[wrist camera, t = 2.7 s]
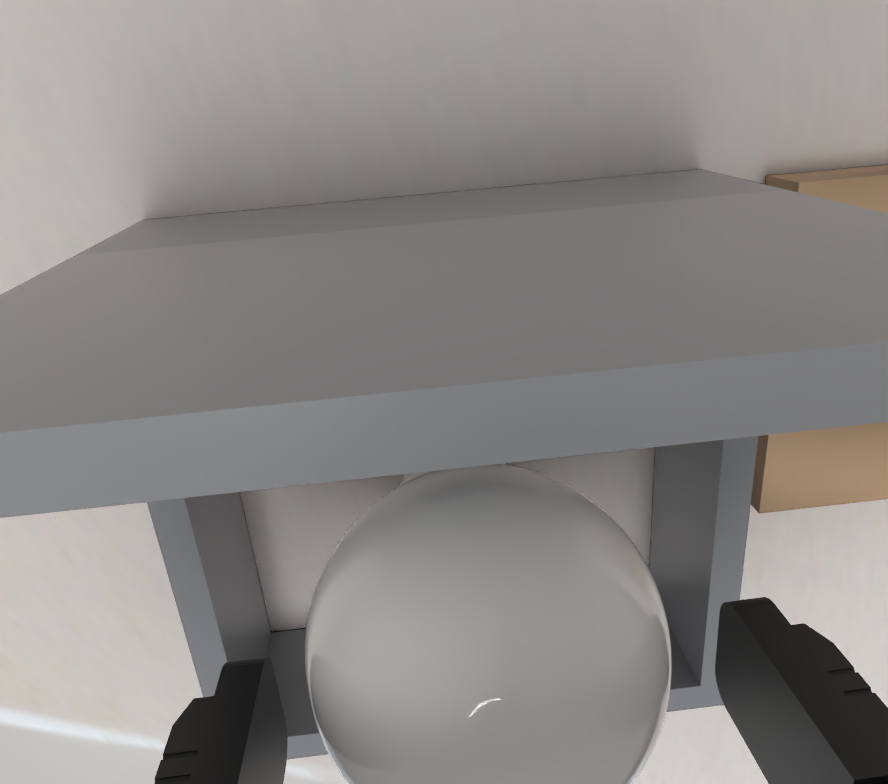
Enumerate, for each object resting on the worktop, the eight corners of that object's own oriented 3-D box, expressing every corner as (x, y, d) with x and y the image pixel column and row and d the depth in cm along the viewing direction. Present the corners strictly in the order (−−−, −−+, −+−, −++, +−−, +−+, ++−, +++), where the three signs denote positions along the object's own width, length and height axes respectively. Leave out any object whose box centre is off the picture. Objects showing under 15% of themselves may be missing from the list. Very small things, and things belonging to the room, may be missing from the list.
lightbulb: (370, 305, 18) (355, 577, 8) (593, 371, 19) (828, 680, 9) (308, 508, 20) (234, 924, 10) (512, 556, 21) (627, 969, 11)
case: (143, 219, 17) (-324, 466, 6) (700, 169, 17) (1261, 303, 6) (250, 655, 22) (118, 1214, 11) (671, 605, 23) (944, 1088, 12)
